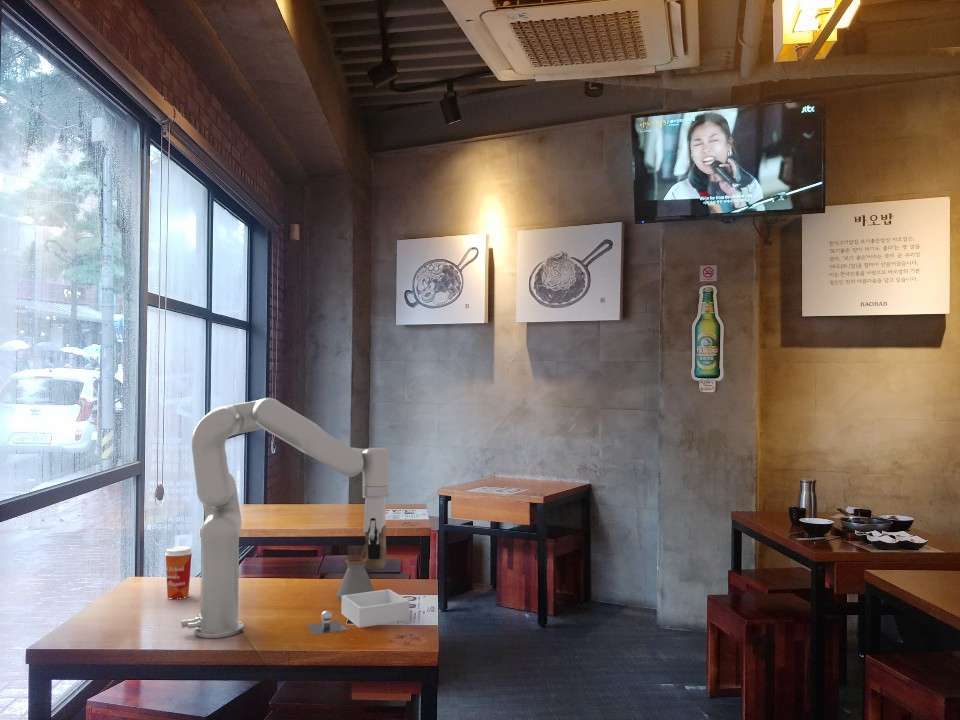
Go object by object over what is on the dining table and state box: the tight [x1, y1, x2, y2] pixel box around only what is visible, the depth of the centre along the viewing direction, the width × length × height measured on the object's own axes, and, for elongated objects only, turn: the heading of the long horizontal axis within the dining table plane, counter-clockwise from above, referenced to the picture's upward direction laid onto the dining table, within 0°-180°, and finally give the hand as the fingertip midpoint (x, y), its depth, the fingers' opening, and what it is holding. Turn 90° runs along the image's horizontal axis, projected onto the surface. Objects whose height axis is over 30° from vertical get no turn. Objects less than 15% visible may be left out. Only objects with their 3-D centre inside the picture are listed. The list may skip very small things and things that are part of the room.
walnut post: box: [365, 524, 387, 570], centre depth 210 cm, size 5×5×11 cm
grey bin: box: [340, 588, 410, 628], centre depth 209 cm, size 15×15×6 cm
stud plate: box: [304, 610, 348, 636], centre depth 199 cm, size 9×9×5 cm
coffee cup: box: [164, 545, 194, 600], centre depth 232 cm, size 8×8×15 cm
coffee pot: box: [336, 544, 375, 602], centre depth 231 cm, size 21×12×15 cm, turn 175°
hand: (375, 555), depth 210 cm, fingers closed on walnut post, 5 cm apart
